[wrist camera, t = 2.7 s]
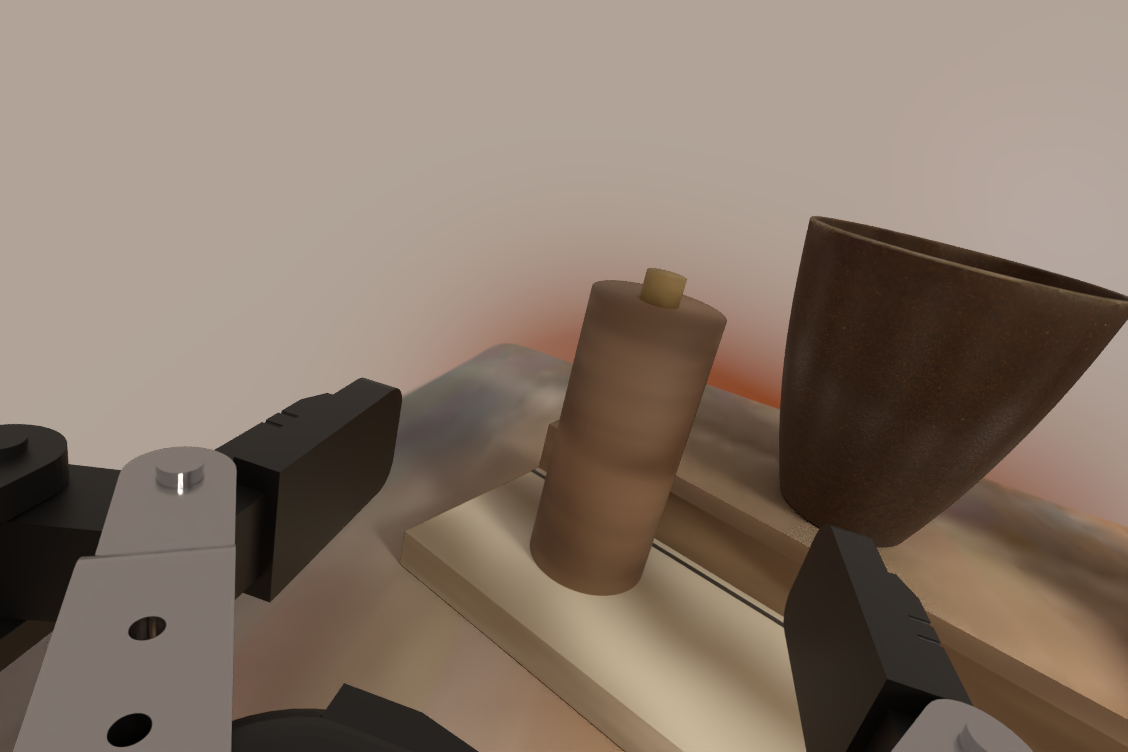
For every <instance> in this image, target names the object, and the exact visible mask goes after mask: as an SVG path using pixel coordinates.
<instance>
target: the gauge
mask: <svg viewBox="0 0 1128 752" xmlns="http://www.w3.org/2000/svg"><path fill="white" fill-rule="evenodd" d="M686 281H687V279H686V278H685V277H683V276H681V275H679V274H676V273H673V272H670V271H666V270H661V269H656V268H649V269H647V272H646V276H645V279H644V283H643V284H640V283H634V282H627V281H615V280H606V281H599V282H596V283H594V284H593V286H592V289H591V293H590V297H589V301H588V306H587V309H586V313H585V317H584V322H583V326H582V330H581V334H580V338H579V342H578V346H577V351H576V355H575V359H574V363H573V367H572V371H571V375H570V379H569V383H568V387H567V391H566V396H565V400H564V404H563V408H562V412H561V416H560V420H559V424H558V428H557V433H556V437H555V441H554V445H553V449H552V453H551V457H550V461H549V465H548V469H547V474H546V478H545V482H544V486H543V490H542V494H541V498H540V502H539V506H538V511H537V515H536V519H535V523H534V527H533V531H532V535H531V539H530V551H531V555H532V557H533V559H534V561H535V563H536V564H537V566H538V567H539V568H540V569H541V570H542V572H544V573H545V574H546V575H547V576H548V577H549V578H551V579H552V580H553V581H555V582H557V583H558V584H560V585H562V586H564V587H566V588H568V589H571V590H573V591H576V592H580V593H583V594H588V595H596V596H610V595H617V594H621V593H624V592H626V591H628V590H630V589H632V588H633V587H634V586H635V585H636V584H637V583H638V582H639V581H640V579H641V577H642V574H643V571H644V568H645V565H646V562H647V559H648V556H649V553H650V550H651V547H652V544H653V541H654V538H655V535H656V532H657V529H658V526H659V523H660V520H661V517H662V514H663V511H664V508H665V505H666V502H667V499H668V496H669V493H670V490H671V487H672V484H673V481H674V478H675V475H676V472H677V469H678V466H679V463H680V460H681V457H682V454H683V451H684V448H685V445H686V442H687V439H688V436H689V433H690V430H691V427H692V424H693V421H694V418H695V415H696V412H697V409H698V406H699V403H700V400H701V397H702V394H703V391H704V388H705V385H706V382H707V379H708V376H709V373H710V371H711V367H712V365H713V362H714V358H715V356H716V353H717V350H718V347H719V344H720V341H721V338H722V334H723V332H724V329H725V326H726V323H727V320H726V317H725V316H724V315H723V314H722V313H721V312H719V311H718V310H716V309H714V308H713V307H711V306H709V305H707V304H705V303H703V302H701V301H698V300H696V299H693V298H691V297H688V296H685V295H683V291H684V288H685V285H686Z"/></svg>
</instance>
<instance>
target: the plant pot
mask: <svg viewBox="0 0 1128 752" xmlns="http://www.w3.org/2000/svg"><path fill="white" fill-rule="evenodd" d="M1127 320H1128V296H1125V295H1123V294H1120V293H1117V292H1114V291H1111V290H1108V289H1105V288H1102V287H1099V286H1096V285H1093V284H1090V283H1086V282H1083V281H1080V280H1077V279H1074V278H1070V277H1067V276H1063V275H1060V274H1056V273H1053V272H1049V271H1046V270H1042V269H1039V268H1035V267H1031V266H1028V265H1024V264H1021V263H1017V262H1014V261H1009V260H1006V259H1002V258H999V257H995V256H991V255H987V254H984V253H980V252H976V251H972V250H968V249H964V248H960V247H956V246H952V245H948V244H944V243H941V242H937V241H933V240H928V239H924V238H920V237H916V236H912V235H908V234H904V233H899V232H895V231H891V230H887V229H882V228H877V227H874V226H869V225H864V224H859V223H854V222H849V221H843V220H839V219H833V218H827V217H820V216H812V217H811V218H810V221H809V226H808V230H807V235H806V239H805V244H804V248H803V253H802V258H801V262H800V267H799V273H798V277H797V282H796V288H795V292H794V298H793V303H792V309H791V316H790V322H789V329H788V334H787V341H786V349H785V358H784V367H783V378H782V390H781V406H780V428H779V466H780V488H781V492H782V494H783V496H784V497H785V499H786V501H787V502H788V503H789V504H790V505H791V506H792V508H793V509H795V510H796V511H797V512H798V513H799V514H800V515H802V516H803V517H804V518H805V519H807V520H808V521H810V522H811V523H813V524H814V525H816V526H817V527H819V528H821V527H822V526H823V525H825V524H829V525H833V526H836V527H839V528H842V529H845V530H849V531H852V532H855V533H858V534H861V535H864V536H868V537H870V538H871V539H872V540H873V541H874V544H875V546H876V547H891V546H895V545H898V544H900V543H902V542H903V541H904V540H906V539H907V538H908V537H910V536H911V535H913V534H914V533H915V532H917V531H918V530H919V529H921V528H922V527H924V526H925V525H926V524H928V523H929V522H930V521H931V520H933V519H934V518H935V517H937V516H938V515H939V514H940V513H942V512H943V511H944V510H945V509H947V508H948V507H949V506H951V505H952V504H953V503H954V502H955V501H956V500H958V499H959V498H960V497H961V496H962V495H964V494H965V493H966V492H967V491H968V490H969V489H970V488H972V487H973V486H974V485H975V484H976V483H977V482H978V481H980V480H981V479H982V478H983V477H984V476H985V475H986V474H987V473H988V472H990V471H991V470H992V469H993V468H994V467H995V466H996V465H997V464H998V463H999V462H1000V461H1001V460H1002V459H1003V458H1004V457H1005V456H1006V455H1007V454H1009V453H1010V452H1011V451H1012V450H1013V449H1014V448H1015V447H1016V446H1017V445H1018V444H1019V442H1021V441H1022V440H1023V439H1024V438H1025V437H1026V436H1027V435H1028V434H1029V433H1030V432H1031V431H1032V430H1033V429H1034V428H1035V427H1036V426H1037V424H1038V423H1039V422H1040V421H1041V420H1042V419H1043V418H1044V417H1045V416H1046V415H1047V414H1048V413H1049V412H1050V411H1051V409H1053V408H1054V407H1055V406H1056V404H1057V403H1058V402H1059V401H1060V400H1061V399H1062V398H1063V397H1064V395H1065V394H1066V393H1067V392H1068V391H1069V390H1070V389H1071V388H1072V387H1073V385H1074V384H1075V383H1076V382H1077V381H1078V379H1079V378H1080V377H1081V376H1082V375H1083V374H1084V372H1085V371H1086V370H1087V369H1088V368H1089V367H1090V365H1091V364H1092V363H1093V362H1094V361H1095V359H1096V358H1097V357H1098V356H1099V355H1100V353H1101V352H1102V351H1103V350H1104V348H1105V347H1106V346H1107V345H1108V343H1109V342H1110V341H1111V340H1112V338H1113V337H1114V336H1115V335H1116V333H1117V332H1118V331H1119V329H1120V328H1121V327H1122V326H1123V325H1124V323H1125V322H1126V321H1127Z"/></svg>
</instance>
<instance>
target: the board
mask: <svg viewBox="0 0 1128 752" xmlns="http://www.w3.org/2000/svg"><path fill="white" fill-rule="evenodd" d="M558 424H559V420H558V421H556V422H553V423H551V424H549V427H548V431H547V435H546V440H545V444H544V448H543V452H542V456H541V461H540V465H539V468H537V469H535V470H532V471H531V472H529V473H526V474H524V475H522V476H520V477H518V478H516V479H514V480H512V481H510V482H507V483H505V484H503V485H501V486H499V487H497V488H495V489H493V490H490V491H488V492H486V493H484V494H482V495H480V496H478V497H476V498H474V499H471V500H469V501H467V502H465V503H463V504H461V505H459V506H457V507H455V508H452V509H450V510H448V511H446V512H444V513H442V514H440V515H438V516H436V517H433V518H431V519H429V520H427V521H425V522H423V523H421V524H419V525H417V526H414V527H412V528H410V529H408V530H406V531H405V532H404V539H403V545H402V552H401V559H400V564H401V565H403V566H404V567H405V568H406V569H407V570H409V571H410V572H411V573H412V574H413V575H415V576H416V577H417V578H418V579H419V580H420V581H422V582H423V583H424V584H425V585H426V586H428V587H429V588H430V589H431V590H432V591H434V592H435V593H436V594H437V595H438V596H440V597H441V598H442V599H443V600H444V601H446V602H447V603H448V604H449V605H450V606H452V607H453V608H454V609H455V610H456V611H458V612H459V613H460V614H461V615H462V616H464V617H465V618H466V619H467V620H468V621H470V622H471V623H472V624H473V625H474V626H476V627H477V628H478V629H479V630H480V631H482V632H483V633H484V634H485V635H486V636H488V637H489V638H490V639H491V640H492V641H494V642H495V643H496V644H497V645H498V646H499V647H501V648H502V649H503V650H504V651H505V652H507V653H508V654H509V655H510V656H511V657H513V658H514V659H515V660H516V661H517V662H519V663H520V664H521V665H522V666H523V667H525V668H526V669H527V670H528V671H529V672H531V673H532V674H533V675H534V676H535V677H537V678H538V679H539V680H540V681H541V682H543V683H544V684H545V685H546V686H547V687H549V688H550V689H551V690H552V691H553V692H555V693H556V694H557V695H558V696H559V697H561V698H562V699H563V700H564V701H565V702H567V703H568V704H569V705H570V706H571V707H572V708H574V709H575V710H576V711H577V712H578V713H580V714H581V715H582V716H583V717H584V718H586V719H587V720H588V721H589V722H590V723H592V724H593V725H594V726H595V727H596V728H598V729H599V730H600V731H601V732H602V733H604V734H605V735H606V736H607V737H608V738H610V739H611V740H612V741H613V742H614V743H616V744H617V745H618V746H619V747H620V748H622V749H623V750H624V751H625V752H806V747H805V741H804V736H803V731H802V725H801V720H800V714H799V709H798V703H797V698H796V693H795V687H794V682H793V676H792V671H791V665H790V660H789V655H788V649H787V644H786V638H785V633H784V625H783V620H784V610H785V605H786V601H787V598H788V595H789V592H790V590H791V588H792V586H793V583H794V581H795V579H796V577H797V575H798V573H799V570H800V568H801V566H802V564H803V562H804V560H805V558H806V555H807V553H808V551H809V549H810V548H809V547H807V546H805V545H803V544H801V543H799V542H798V541H796V540H794V539H792V538H790V537H788V536H786V535H785V534H783V533H781V532H779V531H777V530H775V529H774V528H772V527H770V526H768V525H766V524H764V523H762V522H761V521H759V520H757V519H755V518H753V517H751V516H749V515H748V514H746V513H744V512H742V511H740V510H738V509H736V508H735V507H733V506H731V505H729V504H727V503H725V502H724V501H722V500H720V499H718V498H716V497H714V496H712V495H711V494H709V493H707V492H705V491H703V490H701V489H699V488H698V487H696V486H694V485H692V484H690V483H688V482H687V481H685V480H683V479H681V478H679V477H677V476H675V478H674V481H673V484H672V487H671V490H670V493H669V496H668V499H667V502H666V505H665V508H664V511H663V514H662V517H661V520H660V523H659V526H658V529H657V532H656V535H655V538H654V541H653V544H652V547H651V550H650V553H649V556H648V559H647V562H646V565H645V568H644V571H643V574H642V577H641V579H640V581H639V582H638V583H637V584H636V585H635V586H634V587H633V588H632V589H630V590H628V591H626V592H624V593H621V594H617V595H610V596H596V595H588V594H583V593H580V592H576V591H573V590H571V589H568V588H566V587H564V586H562V585H560V584H558V583H557V582H555V581H553V580H552V579H551V578H549V577H548V576H547V575H546V574H545V573H544V572H542V570H541V569H540V568H539V567H538V566H537V564H536V563H535V561H534V559H533V557H532V555H531V551H530V539H531V535H532V531H533V527H534V523H535V519H536V515H537V511H538V506H539V502H540V498H541V494H542V490H543V486H544V482H545V478H546V474H547V469H548V465H549V461H550V457H551V453H552V449H553V445H554V441H555V437H556V433H557V428H558ZM925 612H926V614H927V616H928V618H929V620H930V622H931V623H930V626H932V627H933V628H934V630H935V631H936V633H937V635H938V637H939V639H940V641H941V643H940V646H941V647H944V649H945V651H946V653H947V655H948V657H949V659H950V661H951V663H952V665H953V667H954V669H955V671H956V673H957V675H958V677H959V679H960V680H961V682H962V684H963V686H964V688H965V690H966V692H967V694H968V696H969V698H970V700H971V702H972V704H973V706H974V707H975V708H977V709H979V710H981V711H983V712H985V713H987V714H988V715H990V716H992V717H993V718H995V719H996V720H998V721H999V722H1001V723H1002V724H1004V725H1005V726H1006V727H1007V728H1009V729H1010V730H1011V731H1013V732H1014V733H1015V734H1016V735H1017V736H1018V737H1019V738H1021V739H1022V740H1023V741H1024V742H1025V743H1026V744H1027V745H1028V746H1029V747H1030V748H1031V750H1032V751H1033V752H1128V720H1127V719H1125V718H1123V717H1122V716H1120V715H1118V714H1116V713H1114V712H1112V711H1111V710H1109V709H1107V708H1105V707H1103V706H1101V705H1099V704H1098V703H1096V702H1094V701H1092V700H1090V699H1088V698H1086V697H1085V696H1083V695H1081V694H1079V693H1077V692H1075V691H1073V690H1072V689H1070V688H1068V687H1066V686H1064V685H1062V684H1061V683H1059V682H1057V681H1055V680H1053V679H1051V678H1049V677H1048V676H1046V675H1044V674H1042V673H1040V672H1038V671H1036V670H1035V669H1033V668H1031V667H1029V666H1027V665H1025V664H1023V663H1022V662H1020V661H1018V660H1016V659H1014V658H1012V657H1011V656H1009V655H1007V654H1005V653H1003V652H1001V651H999V650H998V649H996V648H994V647H992V646H990V645H988V644H986V643H985V642H983V641H981V640H979V639H977V638H975V637H973V636H972V635H970V634H968V633H966V632H964V631H962V630H961V629H959V628H957V627H955V626H953V625H951V624H949V623H948V622H946V621H944V620H942V619H940V618H938V617H936V616H935V615H933V614H931V613H929V612H927V611H925Z"/></svg>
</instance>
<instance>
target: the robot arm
mask: <svg viewBox="0 0 1128 752" xmlns="http://www.w3.org/2000/svg"><path fill="white" fill-rule="evenodd" d="M401 404H402V394H401V391H400V390H399V389H398V388H394V387H391V386H388V385H385V384H382V383H378V382H375V381H372V380H369V379H366V378H360V379H357V380H356V381H354V382H353V383H351V384H349V385H348V386H346V387H345V388H343V389H341V390H340V391H338V392H337V393H335V394H333V395H332V394H329V393H325V394H321V395H317V396H313V397H309V398H305V399H301V400H299V401H297V402H296V403H294V404H292V405H291V406H289V407H287V408H286V409H284V410H282V412H281V414H280V413H277V414H275V415H274V416H272V417H270V418H268V419H267V420H266V422H265V423H263V422H261V423H260V424H258V425H256V426H255V427H253V428H251V429H250V430H248V431H246V432H244V433H243V434H241V435H239V436H238V437H236V438H234V439H233V440H231V441H229V442H227V443H226V444H224V445H222V446H220V447H219V448H217V449H215V450H210V449H206V448H199V447H172V448H165V449H160V450H155V451H152V452H149V453H146V454H143V455H141V456H139V457H137V458H135V459H133V460H131V461H130V462H129V463H128V464H126V465H125V466H124V467H123V469H122V470H114V469H105V468H96V467H88V466H79V465H71V464H68V451H67V441H66V439H65V437H64V436H63V435H62V434H60V433H59V432H57V431H55V430H52V429H49V428H45V427H41V426H35V425H25V424H24V425H23V424H8V425H7V424H6V425H0V671H2V670H3V669H4V668H6V667H7V666H8V665H9V664H11V663H12V662H13V661H15V660H16V659H17V658H18V657H20V656H21V655H22V654H24V653H25V652H26V651H27V650H29V649H30V648H31V647H32V646H34V645H35V644H36V643H38V642H39V641H40V640H41V639H43V638H44V637H45V636H47V635H48V634H49V633H50V632H52V631H53V633H52V636H51V639H50V642H49V645H48V648H47V651H46V654H45V657H44V660H43V663H42V666H41V669H40V672H39V675H38V678H37V681H36V684H35V687H34V690H33V693H32V696H31V699H30V702H29V705H28V708H27V711H26V714H25V717H24V720H23V723H22V726H21V729H20V732H19V735H18V738H17V741H16V744H15V747H14V750H13V752H478V751H477V750H475V749H474V748H472V747H471V746H469V745H468V744H467V743H465V742H464V741H462V740H461V739H459V738H458V737H457V736H455V735H454V734H452V733H451V732H449V731H448V730H446V729H445V728H444V727H442V726H441V725H439V724H438V723H436V722H435V721H434V720H432V719H431V718H429V717H428V716H426V715H425V714H423V713H422V712H419V711H417V710H414V709H411V708H409V707H406V706H403V705H401V704H398V703H395V702H393V701H390V700H387V699H385V698H382V697H379V696H377V695H374V694H371V693H369V692H366V691H363V690H361V689H358V688H355V687H353V686H350V685H347V684H345V683H344V684H343V686H342V687H341V689H340V690H339V692H338V693H337V694H336V696H335V697H334V699H333V700H332V702H331V703H330V705H329V706H328V708H327V709H326V710H325V709H286V710H277V711H270V712H265V713H260V714H255V715H251V716H247V717H243V718H240V719H237V720H234V721H232V690H233V646H234V601H235V599H236V598H238V597H239V596H240V595H241V594H242V593H245V594H248V595H251V596H254V597H256V598H259V599H262V600H265V601H267V602H271V601H272V600H273V599H274V598H275V597H276V596H277V595H278V594H279V593H280V592H281V591H282V590H283V589H284V588H285V587H286V586H287V585H288V584H289V583H290V582H291V581H292V580H293V579H294V577H295V576H296V575H297V574H298V573H299V572H300V571H301V570H302V569H303V568H304V567H305V566H306V565H307V564H308V563H309V562H310V561H311V560H312V559H313V558H314V557H315V556H316V555H317V554H318V553H319V552H320V551H321V550H322V549H323V548H324V547H325V546H326V545H327V544H328V543H329V542H330V541H331V540H332V539H333V538H334V537H335V536H336V535H337V534H338V533H339V532H340V531H341V530H342V529H343V528H344V527H345V526H346V525H347V524H348V523H349V522H350V521H351V520H352V519H353V518H354V517H355V516H356V515H357V514H358V513H359V512H360V511H361V509H362V508H363V507H364V506H365V505H366V504H367V503H368V502H369V501H370V500H371V499H372V498H373V497H374V496H375V495H376V494H377V493H378V492H379V491H380V490H381V488H382V487H383V485H384V484H385V482H386V480H387V477H388V475H389V473H390V470H391V466H392V462H393V457H394V450H395V444H396V437H397V430H398V424H399V417H400V411H401ZM930 623H931V622H930V620H929V618H928V616H927V614H926V612H925V610H924V608H923V606H922V604H921V602H920V600H919V598H918V597H917V596H916V595H915V594H914V593H913V592H912V591H911V590H910V589H909V588H908V587H907V586H906V585H905V584H904V583H903V582H902V580H901V579H900V578H899V577H898V576H897V575H895V574H892V573H889V572H888V571H887V569H886V567H885V565H884V563H883V561H882V559H881V556H880V554H879V552H878V550H877V548H876V546H875V544H874V541H873V540H872V539H871V538H870V537H868V536H864V535H861V534H858V533H855V532H852V531H849V530H845V529H842V528H839V527H836V526H833V525H829V524H825V525H823V526H822V527H821V528H820V529H819V531H818V532H817V534H816V536H815V538H814V540H813V542H812V545H811V547H810V549H809V551H808V553H807V555H806V558H805V560H804V562H803V564H802V566H801V568H800V570H799V573H798V575H797V577H796V579H795V581H794V583H793V586H792V588H791V590H790V592H789V595H788V598H787V601H786V605H785V610H784V620H783V625H784V633H785V638H786V644H787V649H788V655H789V660H790V665H791V671H792V676H793V682H794V687H795V693H796V698H797V703H798V709H799V714H800V720H801V725H802V731H803V736H804V741H805V747H806V752H1033V751H1032V750H1031V748H1030V747H1029V746H1028V745H1027V744H1026V743H1025V742H1024V741H1023V740H1022V739H1021V738H1019V737H1018V736H1017V735H1016V734H1015V733H1014V732H1013V731H1011V730H1010V729H1009V728H1007V727H1006V726H1005V725H1004V724H1002V723H1001V722H999V721H998V720H996V719H995V718H993V717H992V716H990V715H988V714H987V713H985V712H983V711H981V710H979V709H977V708H975V707H974V706H973V704H972V702H971V700H970V698H969V696H968V694H967V692H966V690H965V688H964V686H963V684H962V682H961V680H960V679H959V677H958V675H957V673H956V671H955V669H954V667H953V665H952V663H951V661H950V659H949V657H948V655H947V653H946V651H945V649H944V647H941V646H940V643H941V641H940V639H939V637H938V635H937V633H936V631H935V630H934V628H933V627H932V626H930Z"/></svg>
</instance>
